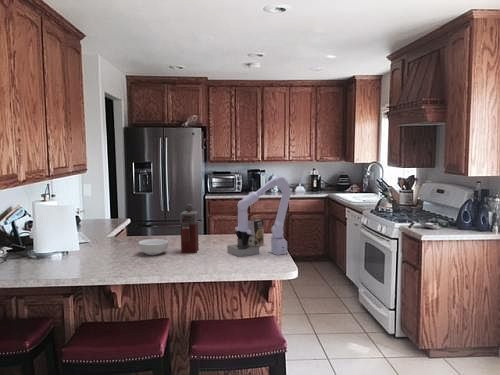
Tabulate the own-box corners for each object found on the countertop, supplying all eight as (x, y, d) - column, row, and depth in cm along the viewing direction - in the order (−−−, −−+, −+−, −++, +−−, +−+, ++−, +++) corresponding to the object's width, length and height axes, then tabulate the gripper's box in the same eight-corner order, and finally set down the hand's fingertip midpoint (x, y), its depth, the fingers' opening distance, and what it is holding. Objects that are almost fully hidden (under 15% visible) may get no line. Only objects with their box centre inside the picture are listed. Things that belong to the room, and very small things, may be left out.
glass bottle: (180, 254, 244) (179, 205, 242) (183, 249, 255) (182, 203, 253) (195, 254, 244) (194, 205, 242) (198, 249, 255) (197, 203, 253)
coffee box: (255, 247, 259) (255, 221, 258) (247, 246, 263) (246, 220, 262) (264, 244, 266) (264, 219, 265) (255, 243, 270) (255, 218, 269)
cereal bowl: (161, 257, 236) (161, 245, 236) (133, 256, 240) (133, 244, 239) (172, 250, 253) (172, 239, 252) (146, 249, 256) (146, 238, 256)
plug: (248, 248, 244) (248, 238, 244) (241, 249, 241) (241, 239, 241) (244, 247, 247) (244, 237, 247) (237, 248, 245) (237, 238, 244)
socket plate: (259, 254, 242) (259, 247, 242) (239, 257, 235) (239, 250, 235) (246, 249, 254) (246, 242, 254) (227, 252, 247) (227, 245, 247)
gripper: (230, 220, 247) (230, 243, 248) (243, 223, 235) (243, 247, 236) (240, 219, 251) (241, 241, 252) (254, 222, 239) (254, 246, 240)
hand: (243, 244), depth 244 cm, fingers open, 4 cm apart
